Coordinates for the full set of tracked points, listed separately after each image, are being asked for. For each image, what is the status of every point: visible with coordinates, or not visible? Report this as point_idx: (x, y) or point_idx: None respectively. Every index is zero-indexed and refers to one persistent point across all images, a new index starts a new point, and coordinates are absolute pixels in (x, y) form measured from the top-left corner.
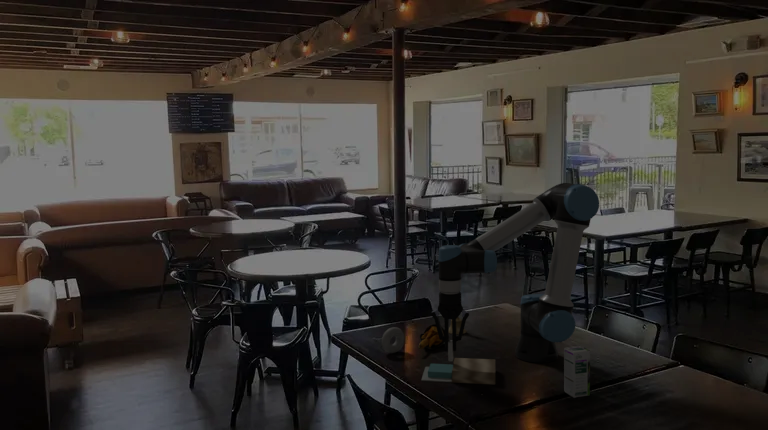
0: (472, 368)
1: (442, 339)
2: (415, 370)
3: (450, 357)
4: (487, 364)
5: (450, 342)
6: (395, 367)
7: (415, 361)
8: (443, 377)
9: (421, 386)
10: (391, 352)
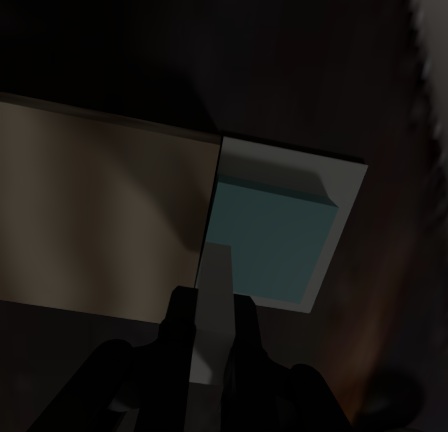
0: (95, 174)
1: (287, 372)
2: (356, 285)
3: (217, 256)
4: (13, 232)
5: (213, 331)
6: (426, 318)
7: (331, 366)
8: (257, 183)
9: (385, 87)
10: (403, 429)
